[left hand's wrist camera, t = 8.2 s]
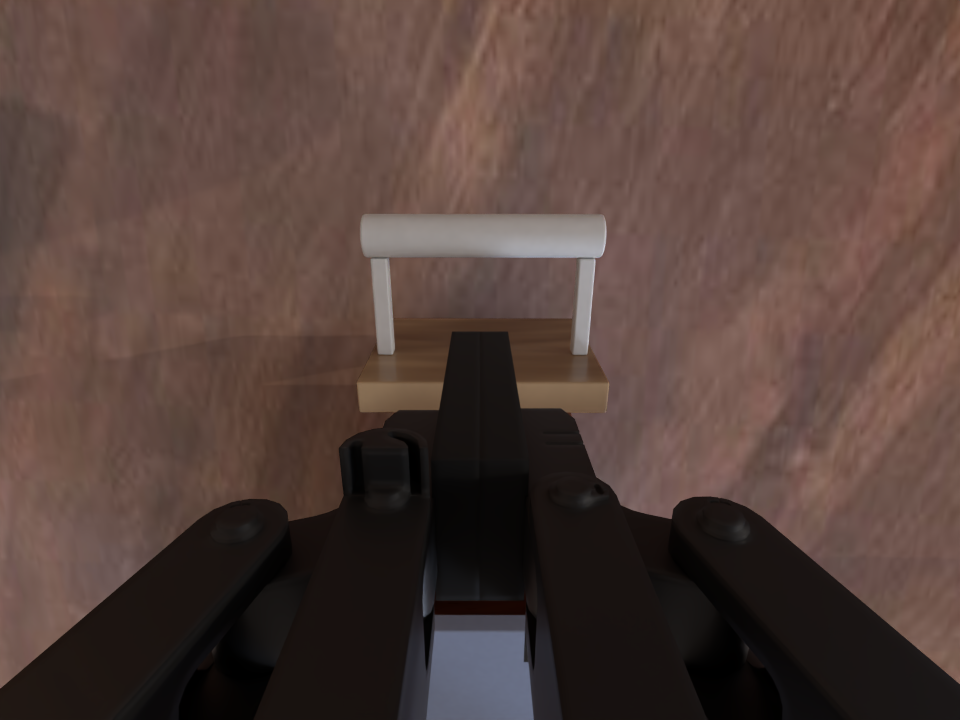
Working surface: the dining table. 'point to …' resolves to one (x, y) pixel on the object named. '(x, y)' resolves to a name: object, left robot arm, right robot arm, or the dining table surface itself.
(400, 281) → the dining table surface
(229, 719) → the left robot arm
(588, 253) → the drawer
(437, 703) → the cabinet
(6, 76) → the dining table surface
